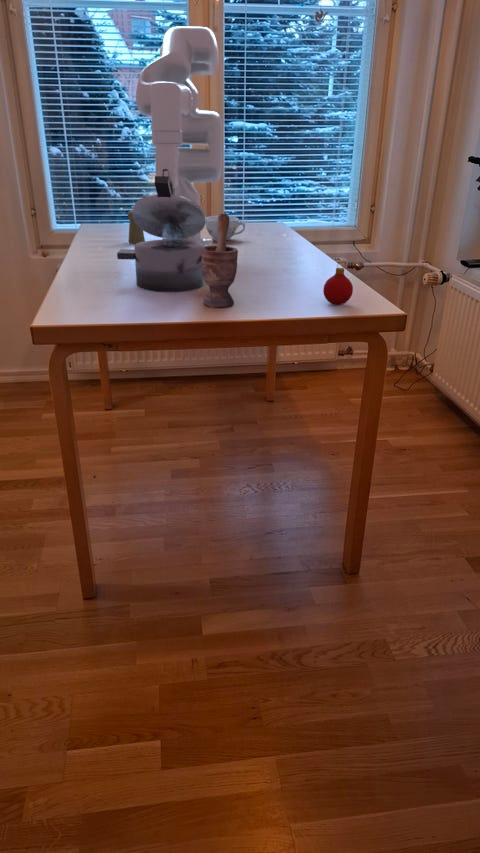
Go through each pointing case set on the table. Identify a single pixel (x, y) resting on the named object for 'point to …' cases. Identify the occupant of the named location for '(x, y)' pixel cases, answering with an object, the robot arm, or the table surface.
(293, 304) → the table surface
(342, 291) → the christmas ornament
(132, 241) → the olive green tall piece
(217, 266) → the mortar and pestle
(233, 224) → the teacup
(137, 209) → the lid
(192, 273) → the pot
